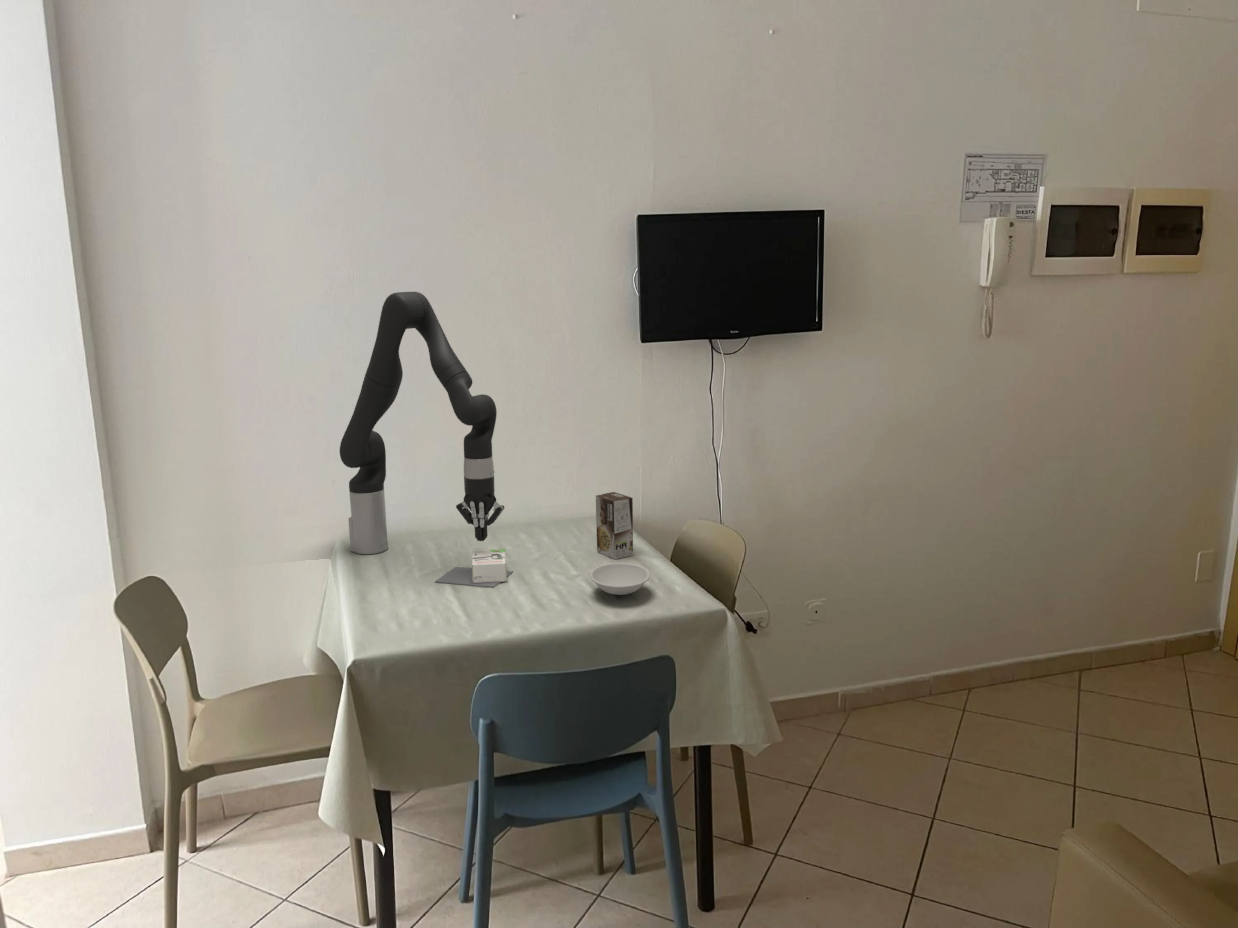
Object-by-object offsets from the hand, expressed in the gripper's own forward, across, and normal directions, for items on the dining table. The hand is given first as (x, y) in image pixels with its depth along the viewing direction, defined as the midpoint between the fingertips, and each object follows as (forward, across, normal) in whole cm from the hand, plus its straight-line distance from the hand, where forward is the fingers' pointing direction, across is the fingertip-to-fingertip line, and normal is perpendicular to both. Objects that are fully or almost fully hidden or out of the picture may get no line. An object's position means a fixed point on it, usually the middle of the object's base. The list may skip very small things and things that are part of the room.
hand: (481, 540), depth 236 cm
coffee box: (+8, +29, +22) cm, 37 cm away
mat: (+8, 0, -6) cm, 10 cm away
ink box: (+5, +1, +2) cm, 6 cm away
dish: (+8, +39, -8) cm, 41 cm away
